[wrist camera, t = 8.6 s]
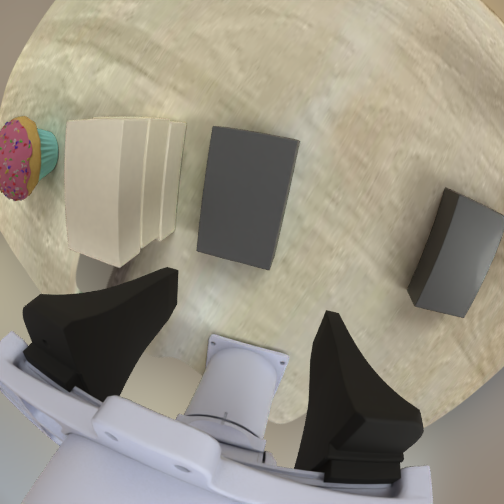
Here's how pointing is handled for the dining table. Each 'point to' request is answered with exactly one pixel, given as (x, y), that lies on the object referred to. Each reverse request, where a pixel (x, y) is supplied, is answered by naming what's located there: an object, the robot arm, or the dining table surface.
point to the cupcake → (25, 157)
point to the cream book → (104, 187)
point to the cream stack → (159, 177)
